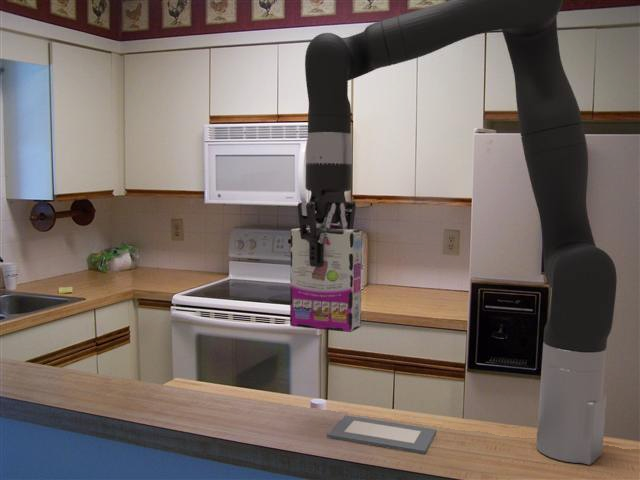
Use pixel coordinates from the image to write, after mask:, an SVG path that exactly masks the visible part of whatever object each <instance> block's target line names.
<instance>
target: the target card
mask: <svg viewBox="0 0 640 480" xmlns="http://www.w3.org/2000/svg"><path fill="white" fill-rule="evenodd" d="M436 433H437V429H435V428H428V427H424V426H417V425H416V426H415V425H411V424H405V423H404V424H403V423H398V422H392V421H391V422H390V421H385V420H380V419H372V418H368V417H367V418H365V417H360V416H352V415H346V414H345V415H344V416H343V417H342V418H341V419H340V420H339V421H338V422H337V423H336V424H335V426H333V428H332V429H331V430H330V431H329V432H327V434H326V438H328V439H334V440H339V441H340V440H341V441H346V442H352V443H358V444H362V443H363V445H368V444H370V446H374V445H377V446H376V447H380V446H383V447H382V448H386V447H389V448H388V449H392V448H394V449H393V450H397V449H401V450H400V451H403V450H407V451H406V452H409V451H410V452H409V453H417V454H422V455H426V453H427V451H428V449H429V448H428V447H430V445H431V444H430V443H432V442H433V440H434V437H435V436H436Z"/></svg>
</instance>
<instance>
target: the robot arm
mask: <svg viewBox="0 0 640 480" xmlns="http://www.w3.org/2000/svg"><path fill="white" fill-rule="evenodd" d="M563 2H564V0H446V1H443V2H440V3H438V4H434V5H431V6H427V7H423V8H420V9H417V10H413V11H410V12H407V13H402V14H399V15H396V16H393V17H389V18H386V19H383V20H379V21H376V22H374V23H371V24H369V25H367V26H366V27H365V29H364V30H363V31H361V32H359V33H356V34H353V35H350V36H347V37H344V38H342V37H341V36H339V35H338V34H335V33H332V32H324V33H323V32H322V33H320V34H318V35H315V37H313V38H312V39H311V40H310V42H309V44H308V46H307V48H306V51H305V56H304V57H305V58H304V71H305V81H306V90H307V91H306V92H307V98H308V112H307V140H306V146H305V186H304V187H305V190H307V191H309V192H310V198H309V200H308V202H298V204H297V214H298V215H297V216H298V223H299V228H300V236H301V239H304V240H307V242H308V243H309V256H310V257H309V261H310V265H311V266H314V267H321V266H323V251H324V244H322V243H323V241H324V237H325V233H326V231H328V230H329V229H354V225H355V215H356V206H357V204H356V202H355V201H347V200H346V199H347V198H346V192H349V191H351V189H352V170H353V169H352V166H353V162H352V161H353V160H352V159H353V145H352V133H351V132H352V127H351V126H352V108H351V102H350V99H349V96H348V95H349V94H348V92H349V90H348V89H349V88H348V87H349V81H351V80H354V79H357V78H359V77H362V76H364V75H366V74H370V73H371V72H373V71H376V70H377V69H381V68H385V67H389V66H392V65H393V66H394V65H397V64H398V65H399V64H400V63H404V62H408V61H412V60H414V59H418V58H421V57H424V56H426V55H429V54H432V53H434V52H436V51H439V50H441V49H443V48H445V47H447V46H450V45H452V44H455V43H458V42H460V41H463V40H464V39H468V38H471V37H474V36H478V35H480V34H481V35H482V34H485V33H489V32H495V31H501V32H502V35H503V37H504V41H505V44H506V49H507V52H508V55H509V59H510V61H511V62H510V63H511V65H512V70H513V76H514V86H515V101H516V108H517V109H516V110H517V118H518V119H517V120H518V124H519V132H520V139H521V144H522V149H523V155H524V159H525V165H526V168H527V173H528V176H529V180H530V185H531V188H532V193H533V197H534V200H535V203H536V207H537V211H538V214H539V221H540V229H541V240H542V253H543V269H544V275H545V279H546V281H547V284H548V286H549V288H551V297H550V299H551V300H550V310H549V311H550V312H549V316H548V321H547V323H546V324H545V326H544V328H543V329H544V330H543V343H542V355H541V357H542V358H541V371H540V373H541V374H540V387H539V400H538V401H539V403H538V413H537V414H538V415H537V418H538V419H537V428H536V429H537V431H536V444H535V445H536V450H537V451H539V453H542V454H543V455H544V456H547V457H549V458H552V459H555V460H556V461H557V460H558V461H563V462H568V463H574V464H575V463H576V464H577V463H579V464H584V465H585V464H586V465H591V464H593V463H594V462H595V461H596V460H597V459H598V458H600V456H602V455H603V450H604V449H603V447H604V437H605V436H604V435H605V423H606V411H607V410H606V409H607V395H606V394H603V393H604V380H605V369H606V368H605V367H606V355H607V354H606V353H607V344H608V337H609V336H610V334H611V332H612V327H613V321H614V315H615V314H614V313H615V306H616V303H615V302H616V295H617V293H616V292H617V285H618V284H617V282H618V281H617V279H618V277H617V269H616V265H615V262H614V260H613V259H612V258H611V256H610V255H609V254H608V253H607V252H606V251H605V250H604V249H601V248H600V247H598V246H596V242H595V239H594V236H593V232H592V228H591V224H590V220H589V215H588V207H587V189H588V179H589V154H588V153H589V152H588V144H587V143H588V142H587V138H586V133H585V127H584V123H583V122H584V121H583V118H582V113H581V110H580V106H579V104H578V100H577V97H576V96H575V93H574V91H573V88H572V86H571V83H570V81H569V79H568V77H567V74H566V71H565V69H564V66H563V62H562V59H561V53H560V45H559V38H558V37H559V36H558V35H559V34H558V23H557V21H558V20H557V16H558V14H559V12H560V10H561V8H562V5H563V4H564V3H563ZM307 228H310V229H309V232H307ZM317 230H319V233H318V235H317Z"/></svg>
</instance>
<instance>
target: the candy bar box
mask: <svg viewBox="0 0 640 480" xmlns="http://www.w3.org/2000/svg"><path fill="white" fill-rule="evenodd" d="M309 229H310V228H309V227H307V232H309ZM318 233H319V230H317V235H318ZM322 244H324V251H323V266H321V267H314V266H311V265H310V261H309V257H310V256H309V243H308V242H307V240H304V239H301V236H300V227H299V228H292V229H291V230H290V289H289V290H290V291H289V292H290V293H289V295H290V296H289V297H290V298H289V299H290V300H289V301H290V303H289V304H290V305H289V308H290V312H289V314H290V315H289V321H290V322H289V325H290V327H297V328H304V329H315V330H324V331H325V330H326V331H336V332H346V333H352V332H353V331H356V330H357V329H359V328H361V325H362V271H363V270H362V267H363V266H362V263H363V260H362V259H363V256H362V255H363V253H362V252H363V230H362V229H354V228H353V229H347V228H345V229H329V230H328V231H326V233H325V237H324V241H323V243H322Z"/></svg>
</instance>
